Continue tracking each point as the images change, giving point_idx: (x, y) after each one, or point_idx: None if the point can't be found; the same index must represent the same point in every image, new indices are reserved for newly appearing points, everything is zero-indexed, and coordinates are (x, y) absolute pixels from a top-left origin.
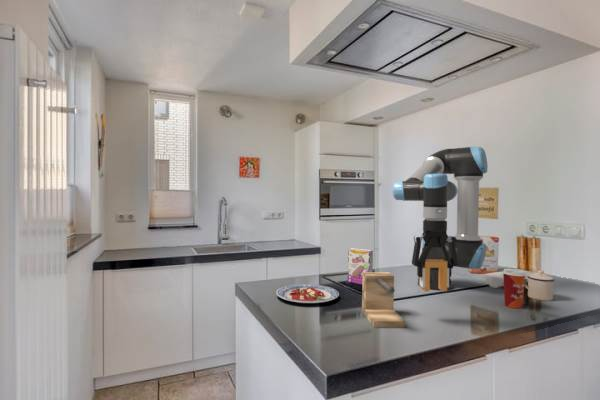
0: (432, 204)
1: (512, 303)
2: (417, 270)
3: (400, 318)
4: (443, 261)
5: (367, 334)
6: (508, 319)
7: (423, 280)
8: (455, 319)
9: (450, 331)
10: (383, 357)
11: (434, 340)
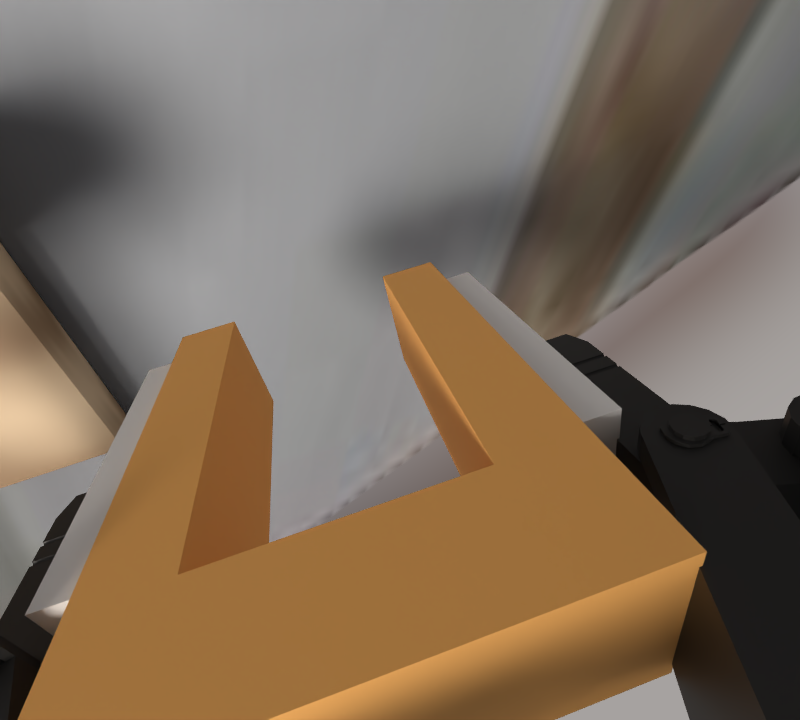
0: None
1: None
2: (23, 597)
3: (84, 416)
4: (586, 706)
5: None
6: (759, 106)
7: None
8: (449, 198)
9: (372, 390)
10: None
11: (285, 500)
